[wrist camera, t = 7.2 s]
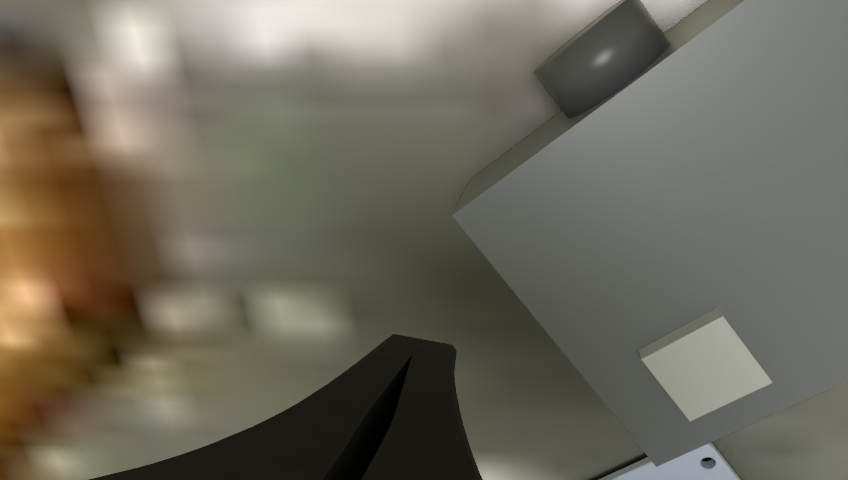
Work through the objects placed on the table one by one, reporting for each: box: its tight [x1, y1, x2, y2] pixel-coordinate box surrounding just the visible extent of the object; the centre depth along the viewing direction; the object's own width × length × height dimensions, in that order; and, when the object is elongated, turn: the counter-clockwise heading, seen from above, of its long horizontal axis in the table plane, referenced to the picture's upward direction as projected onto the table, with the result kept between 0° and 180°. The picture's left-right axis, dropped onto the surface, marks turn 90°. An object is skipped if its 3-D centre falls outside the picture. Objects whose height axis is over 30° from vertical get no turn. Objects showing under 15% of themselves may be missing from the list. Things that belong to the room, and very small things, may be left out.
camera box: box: [452, 0, 848, 467], centre depth 16 cm, size 12×11×4 cm
